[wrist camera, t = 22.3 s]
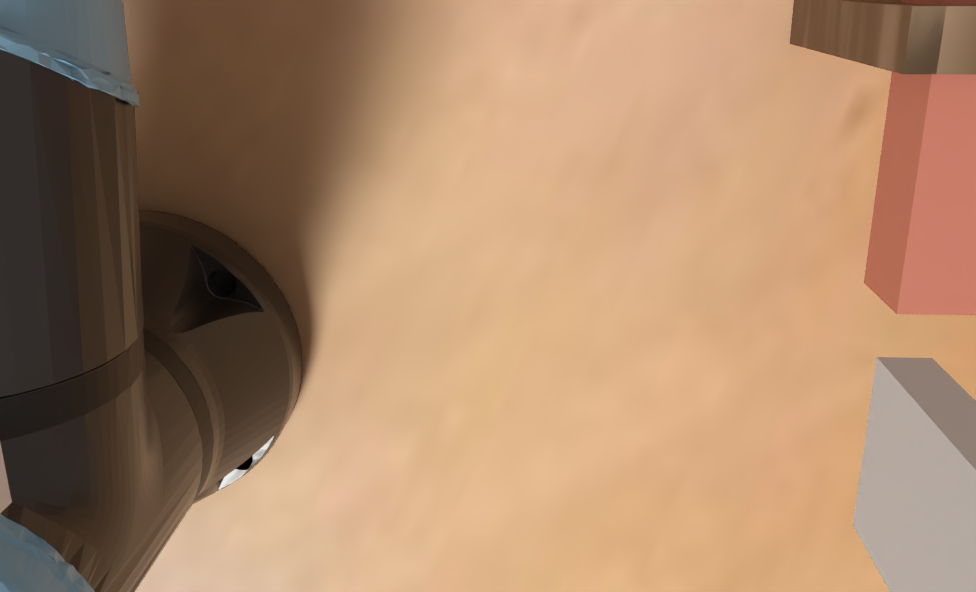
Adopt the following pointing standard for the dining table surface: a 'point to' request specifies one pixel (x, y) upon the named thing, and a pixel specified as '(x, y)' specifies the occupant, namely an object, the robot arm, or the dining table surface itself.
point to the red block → (926, 195)
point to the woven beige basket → (890, 34)
